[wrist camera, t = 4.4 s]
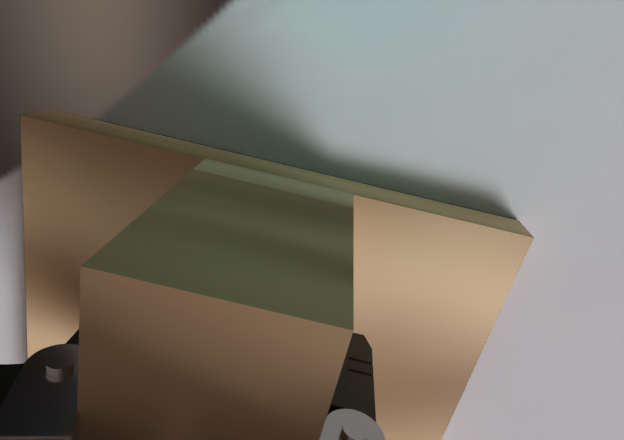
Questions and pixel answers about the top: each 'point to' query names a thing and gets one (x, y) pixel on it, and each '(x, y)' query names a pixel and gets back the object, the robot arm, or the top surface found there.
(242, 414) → the block
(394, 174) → the top surface
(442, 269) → the board
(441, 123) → the top surface
